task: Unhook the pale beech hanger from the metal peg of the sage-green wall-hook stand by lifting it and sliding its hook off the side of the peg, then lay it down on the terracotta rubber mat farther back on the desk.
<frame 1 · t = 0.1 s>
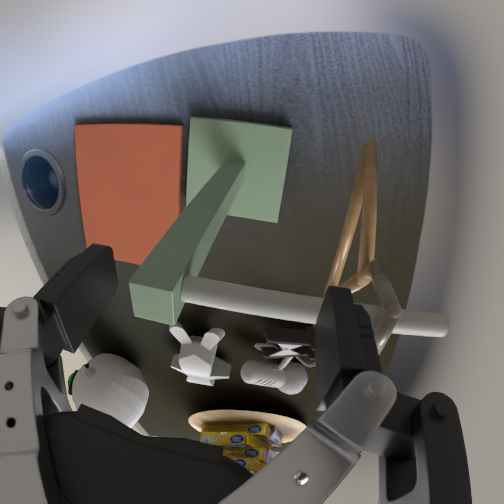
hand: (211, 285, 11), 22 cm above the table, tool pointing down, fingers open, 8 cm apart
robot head: (123, 361, 52), on the table
mat: (127, 196, 34), on the table
bunny figurine: (203, 344, 45), on the table
hook stand: (237, 167, 31), on the table
clip-on lamp: (306, 353, 44), on the table
hanger: (347, 228, 22), point 10 cm above the table, touching hook stand
stacked boxes on plate: (248, 422, 57), on the table
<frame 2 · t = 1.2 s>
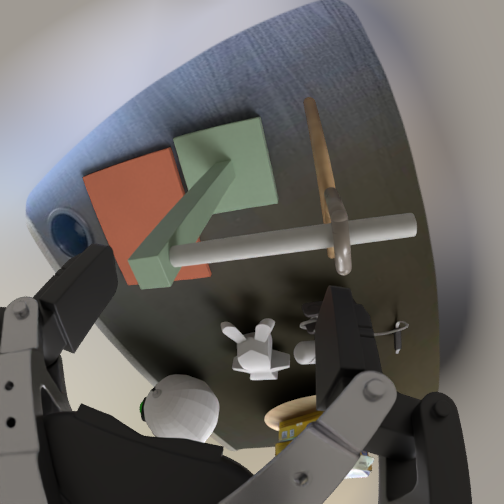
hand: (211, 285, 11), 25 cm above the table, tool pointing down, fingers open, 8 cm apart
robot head: (189, 379, 57), on the table
mat: (145, 223, 39), on the table
bunny figurine: (259, 340, 48), on the table
hook stand: (227, 167, 34), on the table
clip-on lamp: (353, 322, 44), on the table
hanger: (322, 180, 23), point 10 cm above the table, touching hook stand
stacked boxes on plate: (323, 409, 57), on the table
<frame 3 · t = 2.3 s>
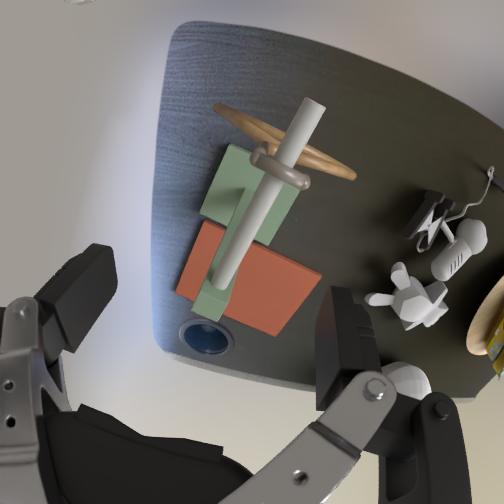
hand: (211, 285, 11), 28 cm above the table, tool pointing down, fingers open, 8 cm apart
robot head: (387, 369, 53), on the table
mat: (244, 283, 45), on the table
bunny figurine: (408, 289, 43), on the table
hook stand: (250, 194, 38), on the table
clip-on lamp: (457, 208, 35), on the table
hanger: (286, 138, 24), point 10 cm above the table, touching hook stand
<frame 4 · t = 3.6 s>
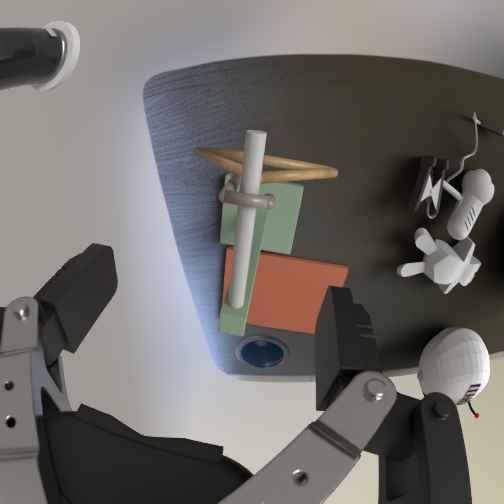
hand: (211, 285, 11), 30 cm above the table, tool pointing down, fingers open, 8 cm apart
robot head: (441, 338, 49), on the table
mat: (280, 293, 48), on the table
bunny figurine: (438, 253, 41), on the table
hook stand: (260, 213, 41), on the table
clip-on lamp: (456, 164, 33), on the table
hanger: (265, 158, 27), point 10 cm above the table, touching hook stand
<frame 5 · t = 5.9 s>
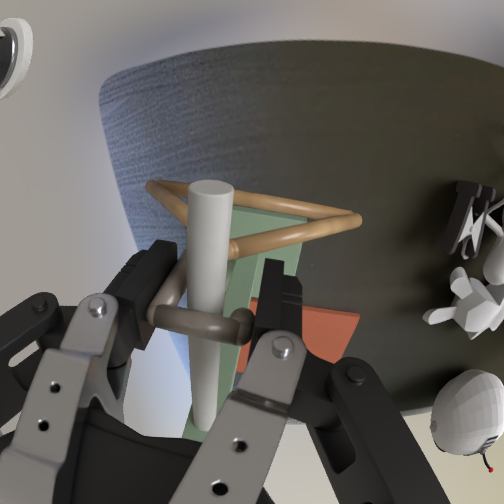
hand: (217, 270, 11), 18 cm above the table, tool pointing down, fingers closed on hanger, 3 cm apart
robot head: (456, 379, 40), on the table
mat: (276, 342, 39), on the table
bunny figurine: (468, 292, 31), on the table
hook stand: (250, 252, 32), on the table
clip-on lamp: (497, 189, 24), on the table
hanger: (251, 197, 18), point 10 cm above the table, touching gripper, hook stand
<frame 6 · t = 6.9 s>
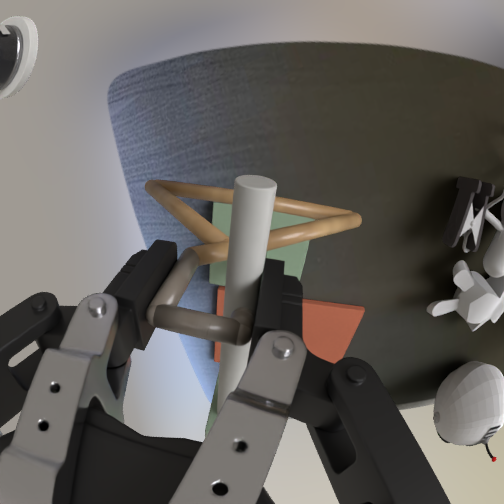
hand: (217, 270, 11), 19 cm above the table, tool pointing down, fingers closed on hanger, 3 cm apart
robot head: (457, 371, 42), on the table
mat: (283, 336, 39), on the table
bunny figurine: (469, 285, 32), on the table, touching clip-on lamp
hook stand: (258, 247, 33), on the table
clip-on lamp: (495, 185, 25), on the table, touching bunny figurine
hanger: (251, 196, 18), point 11 cm above the table, touching gripper
when the fingers open (11 cm above the table, at t = 17.1 s): hanger drops 1 cm, resting on mat.
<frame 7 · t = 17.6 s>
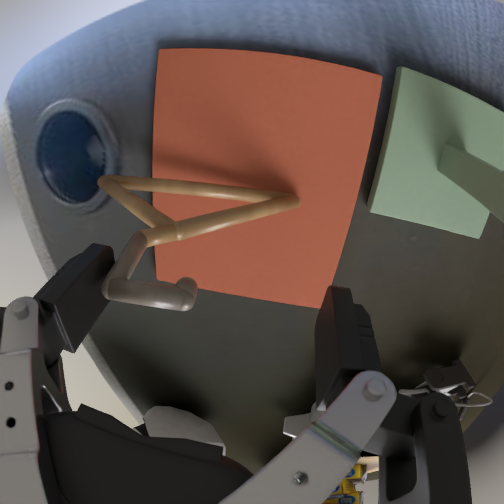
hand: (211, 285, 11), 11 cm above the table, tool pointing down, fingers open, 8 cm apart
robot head: (183, 412, 38), on the table
mat: (252, 185, 20), on the table
bunny figurine: (328, 405, 33), on the table
hook stand: (444, 156, 17), on the table
clip-on lamp: (438, 388, 30), on the table
hanger: (196, 186, 19), point 2 cm above the table, tilted 7°, touching gripper, mat
stacked boxes on plate: (330, 461, 44), on the table
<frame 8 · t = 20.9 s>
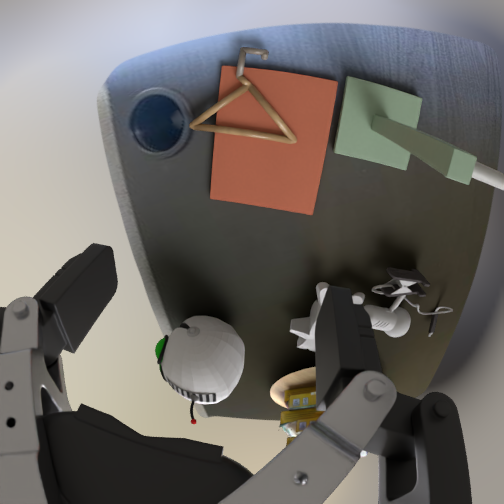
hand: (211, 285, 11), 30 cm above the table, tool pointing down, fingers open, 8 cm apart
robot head: (211, 326, 54), on the table
mat: (270, 139, 36), on the table
bunny figurine: (323, 310, 49), on the table, touching clip-on lamp
hook stand: (377, 122, 33), on the table
clip-on lamp: (406, 298, 46), on the table, touching bunny figurine
hanger: (241, 136, 35), point 1 cm above the table, tilted 90°, touching mat
stacked boxes on plate: (328, 384, 60), on the table
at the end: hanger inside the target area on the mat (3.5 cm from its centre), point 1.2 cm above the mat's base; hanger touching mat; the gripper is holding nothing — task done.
